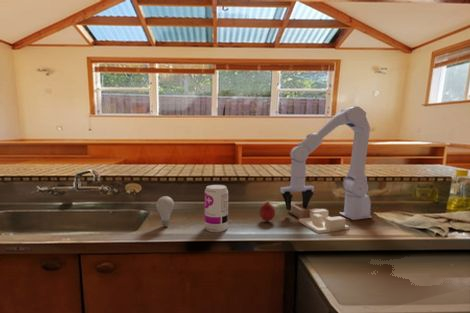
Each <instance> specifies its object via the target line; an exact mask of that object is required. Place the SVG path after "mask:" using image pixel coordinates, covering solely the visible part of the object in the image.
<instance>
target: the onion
mask: <svg viewBox="0 0 470 313" xmlns="http://www.w3.org/2000/svg"><path fill="white" fill-rule="evenodd" d="M275 212H276V210H275V208H274V206H273V205H272V204H270V201H268V200H266V201H265V203H264V204H262V205H261V207H260V208H259V212H258V213H259V216H260V218H261V219H262V220H263V221H264V222H266V223H269V222H270V221H271V220H272V219H273V218H274V217H275V215H276V213H275Z"/></svg>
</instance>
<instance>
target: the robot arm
mask: <svg viewBox="0 0 470 313" xmlns="http://www.w3.org/2000/svg"><path fill="white" fill-rule="evenodd" d="M344 125H346V126H348V127H349V128H350V129H351V130H352V131H353V132H354V134H353V140H352V147H351V148H352V149H351V150H352V152H351V157H350V158H351V159H350V164H349V166H350V167H349V170H348V171H347V172H346V176H345V178H344V180H343V182H342V186H343V189H345V192H344V208H343V212H342V211H339V214H340V215H341V216H342V217H343V216H344V217H346V218H348V219H351V220H354V221H355V220H362V219H363V220H364V219H369V218H372V216H371V204H372V202H371V198H370V196H369V195H367V194H368V191H369V184H368V177H367V175H366V173H365V170H366V162H367V156H368V154H367V153H368V146H369V139H370V132H371V126H370V124H369V121H368V119H367V112H366V111H365V110H364V109H363V108H361V107H360V106H356V105H355V106H352V107H346V108H342V109H341V110H340V111H339V112H337V113H335V115H333V116H332V117H331V118H329V120H328V121H327V122H326V123H325V124H324V125H323V126H322V127H320V129H319V130H318V131H317V132H312V133H308V134H306V135H305V136H306V137H305V138H304V139H303V140H302V141H301V142H298V143H297V146H293V148H291V151H290V152H289V156H290V158H291V165H290V185H287V186H281V187H279V189H280V193H281V195H282V198H283V200H284V204H285V207H286V210H287V211H289V210H291V203H292V199H293V196H294V195H293V194H291V193H300V192H301V197H302V202H303V204H302V205H303V208H305V209H308V206H309V203H310V201H311V199H312V197H313V196H314V191H315V186H313V185H306V170H307V169H306V168H307V167H306V166H307V165H306V160H307V159H308V158H309V155H310V154H312V153H314V151H315V150H316V149H317V148H318V147H319V146H321V144H323V139H325V137H326V136H328V135H329V134H330V133H331V132H333V131H334V130H335V129H336V128H338V127H339V126H344Z"/></svg>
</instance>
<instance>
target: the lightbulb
mask: <svg viewBox="0 0 470 313" xmlns="http://www.w3.org/2000/svg"><path fill="white" fill-rule="evenodd" d="M155 206H156V209H157V212H158V213H159V216H160V220H161V225H162V226H163V227H168V226H169V225H170V220H171V214H172V212H173V209H174V206H175V202H174V199H173V198H172V197H170V196H167V195H166V196H165V195H163V196H161V197H160V198H158V199H157V201H156V204H155Z"/></svg>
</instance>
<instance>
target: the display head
mask: <svg viewBox="0 0 470 313" xmlns="http://www.w3.org/2000/svg"><path fill="white" fill-rule="evenodd" d="M315 209H316V208H315ZM346 220H347V219H346V218H345V217H343V216H342V215H341V216H340V215H339V216H330V215H329V209H326V208H318V209H316V210H310V218H301V219H300V218H298V222H299V223H301V224H303V225H304V226H306V227H307V228H308V229H310V230H312V231H314V232H315V233H316V234H322V233H323V234H324V233H331V232H332V233H333V232H337V231H346V230H350V226H349V225H347V224H346Z"/></svg>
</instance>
